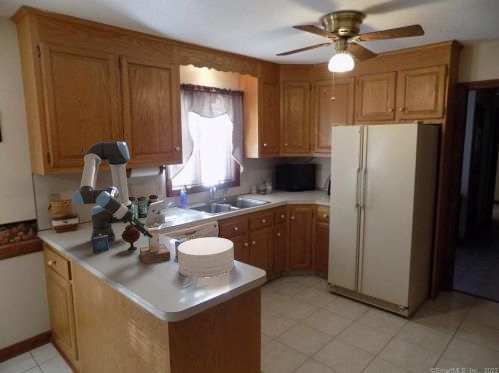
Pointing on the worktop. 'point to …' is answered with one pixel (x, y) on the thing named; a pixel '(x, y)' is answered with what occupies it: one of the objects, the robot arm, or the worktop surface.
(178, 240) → the medicine box
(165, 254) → the board
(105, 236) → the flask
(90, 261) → the worktop surface
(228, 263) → the plate stack
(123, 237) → the ice cream bowl
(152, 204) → the phone holder
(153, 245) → the maple block
